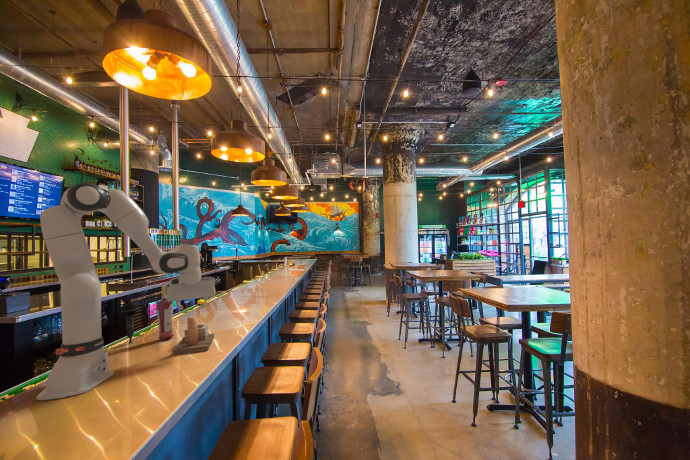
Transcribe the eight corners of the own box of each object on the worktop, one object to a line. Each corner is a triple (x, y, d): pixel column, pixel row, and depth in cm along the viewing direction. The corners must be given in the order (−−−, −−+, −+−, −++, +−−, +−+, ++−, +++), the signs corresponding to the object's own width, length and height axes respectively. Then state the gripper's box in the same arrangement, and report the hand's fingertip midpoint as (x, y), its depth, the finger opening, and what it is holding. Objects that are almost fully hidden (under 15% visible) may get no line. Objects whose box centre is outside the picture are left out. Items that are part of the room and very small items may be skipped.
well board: (207, 350, 141) (207, 333, 141) (172, 355, 137) (172, 337, 137) (214, 337, 162) (213, 322, 162) (184, 340, 158) (183, 325, 158)
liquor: (169, 341, 159) (167, 285, 160) (154, 341, 160) (153, 285, 161) (177, 336, 167) (175, 283, 168) (163, 337, 167) (161, 284, 168)
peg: (197, 345, 143) (196, 318, 144) (187, 346, 142) (186, 319, 143) (198, 342, 147) (197, 316, 148) (189, 343, 146) (188, 317, 147)
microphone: (123, 342, 160) (122, 303, 161) (139, 340, 163) (138, 301, 164) (120, 346, 154) (119, 305, 155) (137, 344, 157) (136, 303, 158)
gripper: (215, 275, 152) (217, 304, 151) (168, 280, 146) (170, 310, 146) (214, 277, 146) (215, 307, 145) (164, 281, 140) (166, 312, 140)
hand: (192, 308), depth 146 cm, fingers open, 8 cm apart
